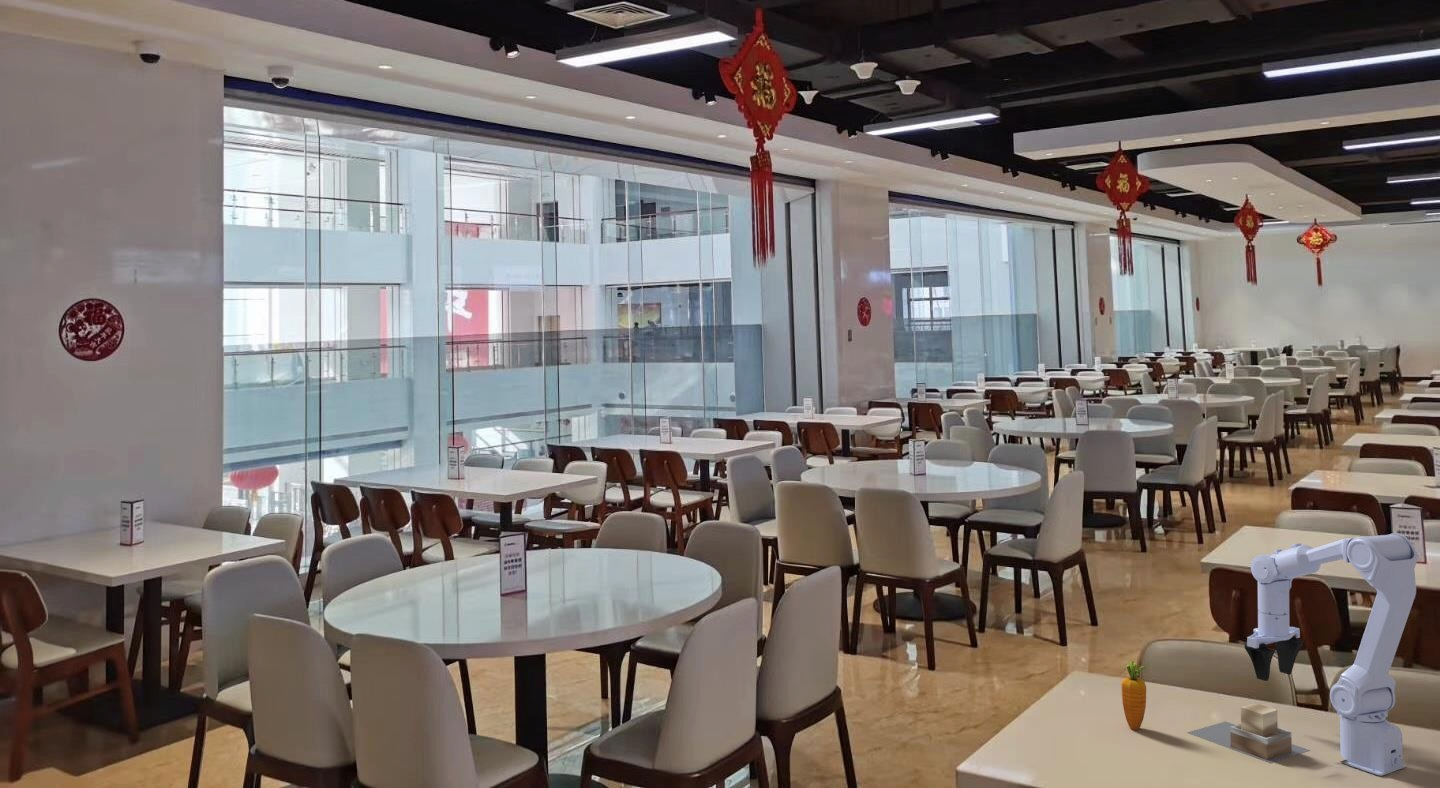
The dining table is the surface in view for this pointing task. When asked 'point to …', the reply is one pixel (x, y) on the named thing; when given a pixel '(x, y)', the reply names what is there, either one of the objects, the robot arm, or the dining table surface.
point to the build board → (1222, 737)
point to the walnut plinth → (1261, 743)
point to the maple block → (1259, 720)
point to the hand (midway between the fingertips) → (1274, 676)
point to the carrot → (1134, 697)
